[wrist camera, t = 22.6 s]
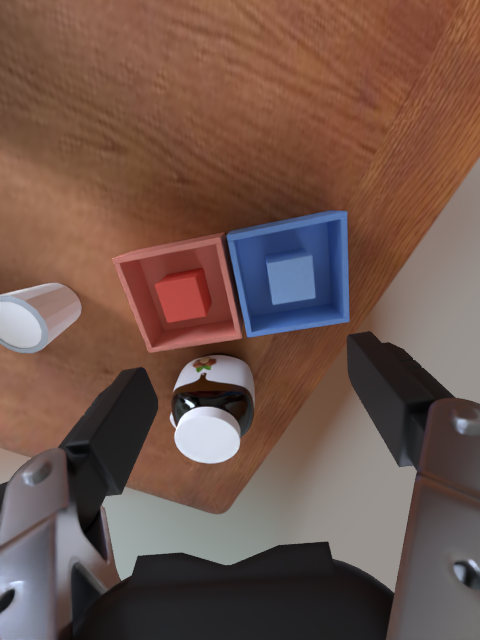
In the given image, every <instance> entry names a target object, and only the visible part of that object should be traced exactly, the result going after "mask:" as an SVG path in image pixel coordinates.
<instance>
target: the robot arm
mask: <svg viewBox="0 0 480 640" xmlns="http://www.w3.org/2000/svg"><path fill="white" fill-rule="evenodd" d="M347 362H348V374H349V378H350V381H351V384H352V386H353V388H354V390H355V391H356V393H357V395H358V397H359V398H360V400H361V402H362V403H363V405H364V407H365V409H366V411H367V412H368V414H369V416H370V417H371V419H372V421H373V422H374V424H375V426H376V428H377V430H378V431H379V433H380V435H381V436H382V438H383V440H384V442H385V443H386V445H387V447H388V449H389V450H390V452H391V454H392V455H393V457H394V459H395V461H396V462H397V464H398V466H399V467H403V466H414V467H415V468H416V470H417V474H416V478H415V483H414V489H413V495H412V500H411V505H410V511H409V516H408V522H407V527H406V533H405V538H404V544H403V549H402V555H401V560H400V566H399V571H398V576H397V582H396V587H395V593H393V592H392V591H391V590H390V589H389V588H387V587H386V586H385V585H384V584H382V583H381V582H380V581H378V580H377V579H375V578H374V577H373V576H371V575H369V574H368V573H366V572H364V571H362V570H361V569H359V568H357V567H355V566H352V565H350V564H348V563H345V562H342V561H338V560H335V559H332V555H331V551H330V547H329V543H328V542H315V543H303V544H289V545H278V546H276V547H273V548H271V549H269V550H266V551H264V552H261V553H259V554H256V555H254V556H252V557H249V558H247V559H245V560H242V561H240V562H237V563H235V564H232V565H222V564H219V563H215V562H212V561H209V560H205V559H201V558H198V557H195V556H192V555H188V554H185V553H170V554H156V555H143V556H138V557H137V560H136V563H135V567H134V570H133V573H132V576H130V577H128V578H126V579H124V580H123V581H121V579H120V577H119V575H118V572H117V569H116V565H115V560H114V555H113V550H112V544H111V539H110V533H109V528H108V522H107V517H106V512H105V509H104V507H103V506H102V503H103V501H104V498H105V496H110V495H120V494H122V492H123V490H124V487H125V485H126V483H127V480H128V478H129V476H130V473H131V471H132V469H133V467H134V464H135V462H136V460H137V457H138V455H139V453H140V450H141V448H142V446H143V443H144V441H145V439H146V437H147V434H148V432H149V430H150V427H151V425H152V423H153V420H154V418H155V416H156V414H157V411H158V398H157V395H156V393H155V391H154V388H153V386H152V384H151V381H150V379H149V377H148V374H147V372H146V370H145V369H144V368H142V367H139V368H133V369H127V370H123V371H121V372H120V374H119V375H118V376H117V378H116V379H115V380H114V382H113V383H112V384H111V385H110V386H109V387H107V388H106V389H105V390H104V391H102V392H101V393H100V394H99V395H98V397H97V398H96V399H95V400H94V402H93V403H92V404H91V405H92V406H90V407H89V408H88V409H87V411H86V412H85V415H83V416H82V417H81V418H80V420H79V421H78V422H77V423H76V425H75V426H74V427H73V429H72V430H71V431H70V432H69V434H68V435H67V436H66V438H65V439H64V440H63V441H62V443H61V444H60V445H59V447H58V448H53V449H49V450H46V451H44V452H42V453H40V454H38V455H36V456H34V457H33V458H31V459H30V460H29V461H27V462H26V463H25V464H24V465H22V466H21V467H20V468H19V469H18V470H17V471H16V472H15V473H14V475H13V476H12V477H11V479H10V480H9V481H8V482H5V483H3V484H0V640H480V404H479V403H476V402H473V401H469V400H465V399H459V398H455V397H454V396H453V395H452V394H451V393H450V392H449V391H448V390H447V389H446V388H445V387H443V386H442V385H441V384H440V383H439V382H438V381H437V380H436V379H435V378H434V377H433V376H432V375H431V374H429V373H428V372H427V371H426V370H425V369H424V368H422V367H421V365H420V364H419V363H418V362H416V361H415V360H413V358H412V357H411V356H410V355H409V354H408V353H407V352H406V351H405V350H404V349H402V348H400V347H397V346H396V345H393V344H391V343H389V342H388V343H381V342H380V341H379V340H378V338H377V337H376V336H375V335H373V333H372V332H369V331H368V332H363V333H356V334H350V335H348V336H347Z"/></svg>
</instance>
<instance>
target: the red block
mask: <svg viewBox="0 0 480 640" xmlns="http://www.w3.org/2000/svg"><path fill="white" fill-rule="evenodd" d="M155 287H156V290H157V293H158V296H159V299H160V302H161V305H162V308H163V311H164V314H165V317H166V319H167V322H168V323H171V322H176V321H182V320H188V319H194V318H200V317H206V316H207V313H208V311H209V308H210V306H211V303H212V301H211V297H210V293H209V289H208V285H207V281H206V277H205V273H204V270H203V268H198V269H193V270H188V271H182V272H177V273H172V274H167V275H166V276H165V277H164V278H162V279H161V280H160V281H159V282H158V283H156V284H155Z"/></svg>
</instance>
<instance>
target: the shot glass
mask: <svg viewBox="0 0 480 640" xmlns="http://www.w3.org/2000/svg"><path fill="white" fill-rule="evenodd" d="M81 309H82V307H81V303H80V300H79V298H78V297H77V295H76V294H75V292H74V291H72V290H71V289H70V288H68V287H67V286H65V285H62V284H59V283H47V284H43V285H39V286H34V287H30V288H26V289H22V290H18V291H14V292H10V293H6V294H1V295H0V344H2V345H3V346H5V347H6V348H8V349H10V350H13V351H16V352H20V353H34V352H37V351H39V350H41V349H43V348H44V347H45V346H46V345H48V344H49V343H50V342H51V341H52V340H53V339H55V338H56V337H57V336H58V335H59V334H60V333H62V332H63V331H64V330H65V329H66V328H68V327H69V326H70V325H71V324H72V323H73V322H75V321H76V320H77V319H78V317H79V316H80V315H81Z"/></svg>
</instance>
